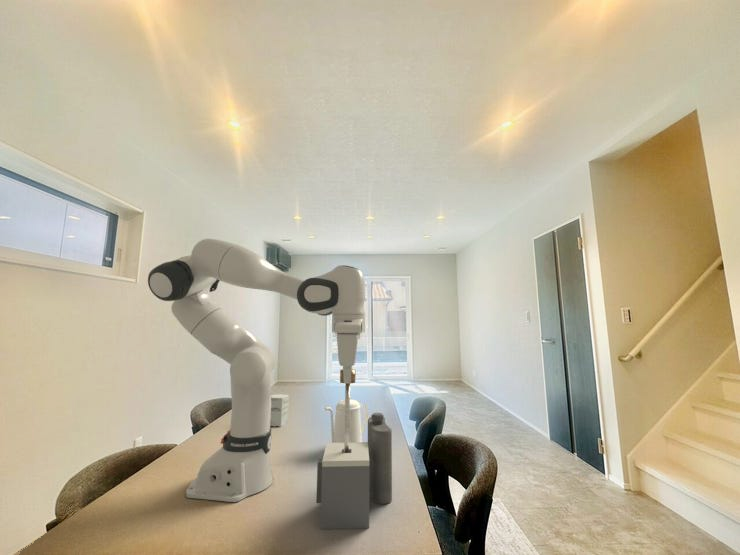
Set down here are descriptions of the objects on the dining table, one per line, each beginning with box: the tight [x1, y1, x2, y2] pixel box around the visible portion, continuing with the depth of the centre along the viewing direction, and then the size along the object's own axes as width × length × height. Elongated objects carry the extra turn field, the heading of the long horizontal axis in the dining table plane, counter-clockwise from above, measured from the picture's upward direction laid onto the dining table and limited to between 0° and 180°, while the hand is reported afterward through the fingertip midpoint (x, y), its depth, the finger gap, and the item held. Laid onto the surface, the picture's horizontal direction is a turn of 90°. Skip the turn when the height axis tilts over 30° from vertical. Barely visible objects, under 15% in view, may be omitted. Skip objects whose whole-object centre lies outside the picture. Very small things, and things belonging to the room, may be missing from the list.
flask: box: [367, 412, 393, 505], centre depth 86 cm, size 15×6×20 cm, turn 7°
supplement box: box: [270, 393, 290, 428], centre depth 140 cm, size 7×7×13 cm
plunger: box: [339, 368, 356, 453], centre depth 77 cm, size 7×7×25 cm
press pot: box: [315, 441, 370, 530], centre depth 74 cm, size 13×11×14 cm
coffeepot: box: [322, 395, 369, 443], centre depth 112 cm, size 11×25×19 cm, turn 143°
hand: (347, 379), depth 78 cm, fingers open, 8 cm apart
